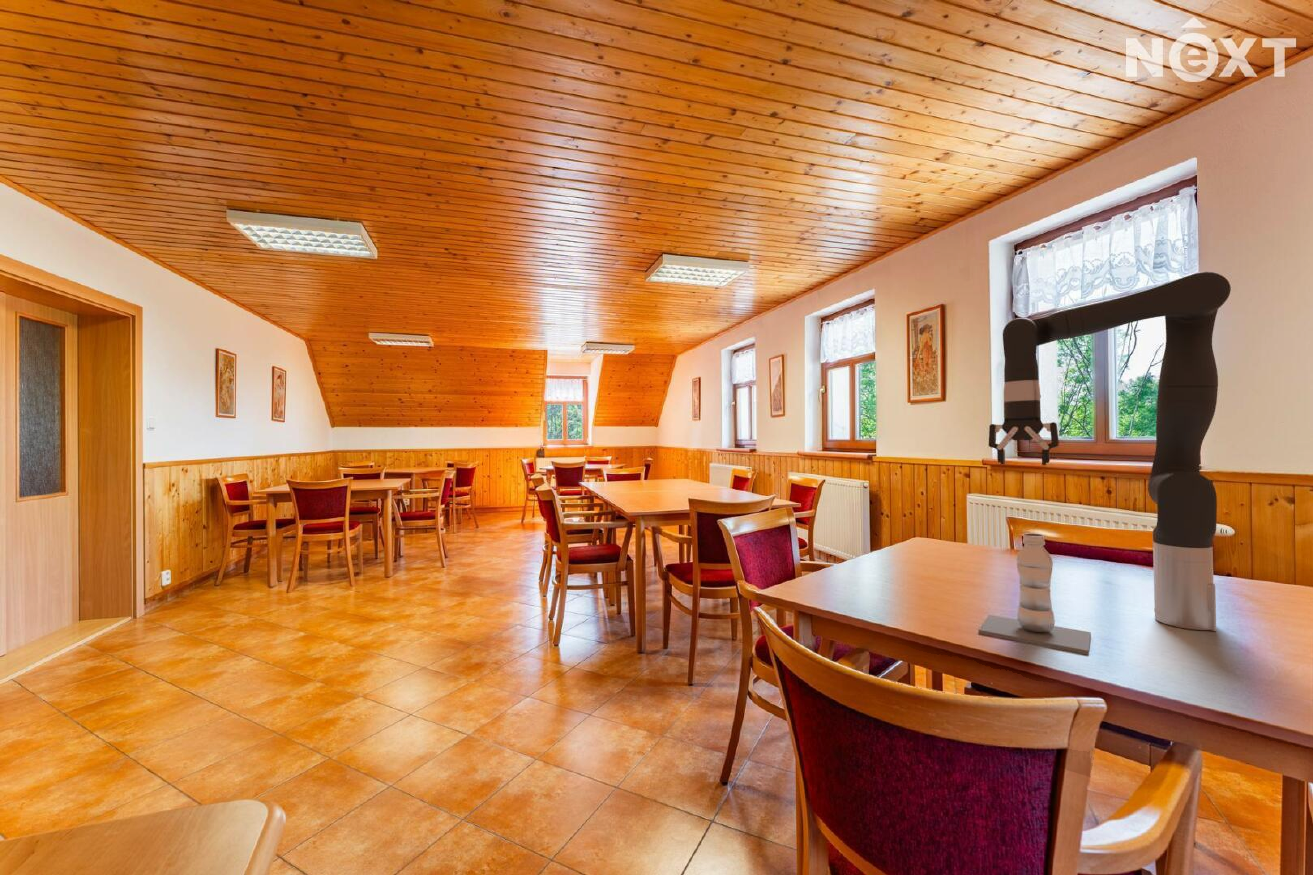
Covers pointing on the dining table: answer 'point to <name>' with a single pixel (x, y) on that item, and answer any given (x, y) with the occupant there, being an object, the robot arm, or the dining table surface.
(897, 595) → the dining table surface
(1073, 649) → the grey rubber mat
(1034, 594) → the plastic bottle
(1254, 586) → the dining table surface
